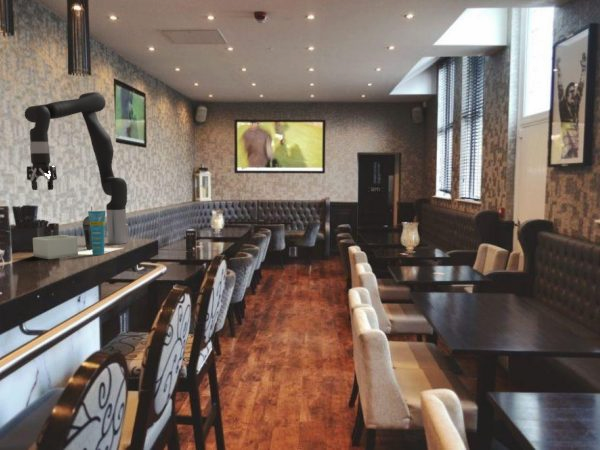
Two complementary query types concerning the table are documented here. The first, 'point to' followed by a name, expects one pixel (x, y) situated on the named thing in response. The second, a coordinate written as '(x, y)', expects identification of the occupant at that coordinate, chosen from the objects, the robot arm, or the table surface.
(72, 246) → the bin
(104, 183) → the robot arm
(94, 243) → the tube
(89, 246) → the beverage cup
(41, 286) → the table surface
